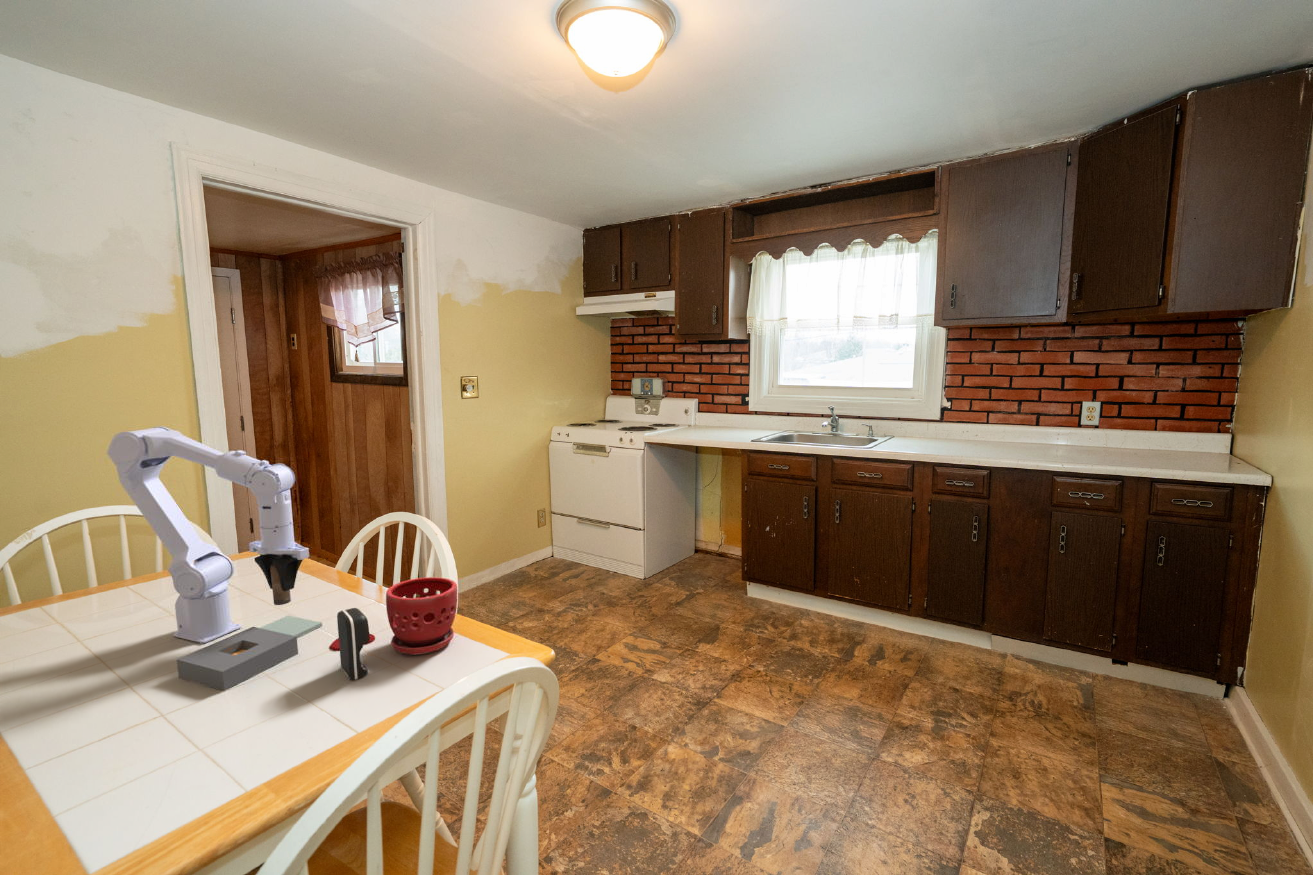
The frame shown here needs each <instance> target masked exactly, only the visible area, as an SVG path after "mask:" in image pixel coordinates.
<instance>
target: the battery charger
mask: <svg viewBox="0 0 1313 875" xmlns="http://www.w3.org/2000/svg"><path fill="white" fill-rule="evenodd" d="M336 617H337V620H336V622H337V632H338V638H339V647H340V651H339V656H340V667H341V669H342V670H343V672H344V673H345V675H347V677H348V678H349V679H350V681H354V680H358V679H360V678H363V677H365V676H366V675H367V674H369V673H368V672H369V671H368V668H367V666H365V665H364V664H363V662H362V661H361V651H362V649H363V648H364V645H363V644H366V643H368V642H369V640H370V635H369V633H370V629H369V628H370V627H369V620H368V618H367V617H366V615H365V614H364V613H363V612H362V611H361V610H360V609H359V608H357V607H352V608H348V609H347V608H346V609H342V610H339V611H338V612H337V616H336Z"/></svg>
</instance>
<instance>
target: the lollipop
mask: <svg viewBox="0 0 1313 875" xmlns="http://www.w3.org/2000/svg"><path fill="white" fill-rule="evenodd" d="M369 635H370V640H369V642H368V643H366V644H363V646H367V645H369V644H372V643H373V642H375V640H376V637H375V635H374V634H373V633H372V634H371V633H370V632H369ZM329 649H330V650H331V651H332V652H333V651H334V652H340V647H339V637H338V638H336V639H335V640H333V641H332V643H331V644H330V645H329Z"/></svg>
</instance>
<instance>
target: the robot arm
mask: <svg viewBox="0 0 1313 875" xmlns="http://www.w3.org/2000/svg"><path fill="white" fill-rule="evenodd" d="M106 454H107V456H108V457H109V458H110V459H111V461H112V462H113V464H114V465H115V467H116V470H117V475H118V479H119V480H118V481H119V482H120V485H121V486H122V488H123V490H125V491H126V493H127V495H128V496H129V498H130V499H131V500H132V501H133V503H134V504H135V506H136V507H137V509H138V511H140V513H141V514H142V515H143V517H144V519H145V520H146V522H147V523H148V524H149V526H150V527H151V528H152V530H153V532H154V533H155V535H156V536H157V537H158V539H159V540H160V541H161V543H162V544H163V546H164V547H165V548H166V550H167V551H168V553H169V554H170V556H172V558H171V561H170V563H169V566H168V568H167V572H168V573H169V575H170V576H171V578H172V584H173V587H174V589H175V591H176V593H177V594H179V596H177V598H176V600H175V605H174V607H175V608H174V609H175V616H176V617H175V618H176V619H175V620H176V627H177V631H175V632H174V633H172V635H173V637H176V638H181V639H184V640H187V641H188V640H189V641H191V642H196V643H200V644H206V643H208V642H210V641H212V640H215V639H218V638H219V637H222V636H225V635H227V634H229V633H232V632H235V631H236V630H239V629H241V628H242V627H243V625H242V624H240V623H234V622H232V616H231V607H230V606H231V605H230V597H229V584H230V581H229V580H230V579H231V578H232V577H233V575H234V573H235V565H234V562H233V561H232V559H231V558H230V557H228V556H227V555H226V554H224V553H222V552H221V551H220V549H218V548H219V547H217V546H215V545H213V544H210V543H208V542H207V543H206V542H204V541H203V540H202V539H201V537H200V536H199V534H198V533H197V531H196V529H195V528H194V527H193V526H192V524H191V523H190V521H189V520H188V518H187V517H186V515H185V514H184V513H183V511H182V510H181V509H180V507H179V505H178V504H177V503H176V501H175V499H174V498H173V497H172V495H171V494H170V492H169V491H168V490H167V488H166V486H165V485H164V484H163V483H162V482H163V481H161V479H160V477H159V476H160V474H161V471H162V469H163V467H164V466H165V465H166V464H167V463H168V461H169V460H170V459H171V458H172V457H177V458H180V459H183V460H186V461H189V462H192V463H193V462H194V464H195V463H196V464H199V465H203V466H206V467H210V468H212V469H214V470H215V472H216V474H217V476H218V477H219V478H221V479H224V480H226V481H229V482H233V483H234V484H236V485H237V484H238V485H241V486H243V487H246V488H248V489H249V490H250V492H251V493H252V494H253V495H254V496H255V498H256V499H255V500H256V504H257V509H258V510H257V511H258V518H259V519H258V520H259V531H260V540H254V541H251V542H249V543H248V545H249V552H250V553H256V554H257V555H258V556H256V557H254V562H255V563H256V564H257V566H258V567H259V568H260V570H261V571H262V572H263V575H264V577H265V579H266V581H267V584H268V587H269V589H270V590H272V580H271V569H270V566H271V565H273V564H274V565H275V567H276V569H277V571H278V574H279V578H280V584H281V588H282V590H283V591H288V590H290V591H291V590H294V588H295V584H296V579H297V575H298V571H299V569H300V567H301V565H302V562H303V561H304V560H305V559H308V558H309V557H310V552H309V550H310V548H308V547H305V546H302V545H301V544H299V543H297V542H296V541H295V533H294V522H293V521H294V520H293V508H292V497H291V495H292V494H291V488H292V487H293V486H294V485H295V482H296V475H295V473H294V471H293V470H292V469H291V467H289V466H288V465H286V464H284V463H275V464H270V462H269V461H268V460H266V459H263V460H260V459H258V458H254V457H251V456H249V455H247V452H246V451H244V450H242V449H241V450H240V449H239V450H236V451H235V450H230V451H228V452H222V451H220V450H219V449H218V450H217V449H215V448H213V447H210V446H208V445H206V444H203V443H202V442H199V441H197V440H195V439H193V438H190V437H188V436H185V435H184V434H182V432H180V431H179V430H176V429H175V430H174V429H170V428H168V427H166V426H155V427H152V428H151V427H150V428H144V429H139V430H133V431H132V430H131V431H130V430H129V431H128V430H127V431H121V432H119V433H116V434H115V435H114V436H113V437H112V439H111V441H110V444H109V446H108V449H107V452H106Z"/></svg>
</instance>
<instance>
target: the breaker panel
mask: <svg viewBox="0 0 1313 875" xmlns="http://www.w3.org/2000/svg"><path fill="white" fill-rule="evenodd" d="M242 649H244V650H246V651H244V652H241V653H239V654H237V655H232V654H234V653H236V652H238V651H240V650H242ZM298 654H299V647H298V638H297V636H292V635H288V634H283V633H279V632H275V631H270V630H266V629H261V627H256V626H251V627H249V628H247V629H245V630H241V631H239V632H237V633H235V634H233V635H231V636H228V637H226V638H223V639H221V640H218V641H216V642H213V643H212V644H209V645H207V646H204V647H202V648H200V649H198V650H195V651H193V652H191V653H188V654H186V655H184V656H181V657H179V658H177V659H176V666H177V676H178V678H179V679H182V680H186V681H188V682H192V683H196V684H199V685H203V686H206V687H210V688H214V689H217V690H220V691H224V692H226V691H227V690H229V689H231V688H233V687H235V686H237V685H239V684H241V683H243V682H245V681H247V680H249V679H251V678H253V677H255V676H256V675H259V674H261V673H263V672H264V671H267V670H269V669H271V668H272V667H274V666H276V665H279V664H281V663H284V661H285V662H286V660H289V659H291V658H292V657H294V656H296V655H298Z"/></svg>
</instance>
